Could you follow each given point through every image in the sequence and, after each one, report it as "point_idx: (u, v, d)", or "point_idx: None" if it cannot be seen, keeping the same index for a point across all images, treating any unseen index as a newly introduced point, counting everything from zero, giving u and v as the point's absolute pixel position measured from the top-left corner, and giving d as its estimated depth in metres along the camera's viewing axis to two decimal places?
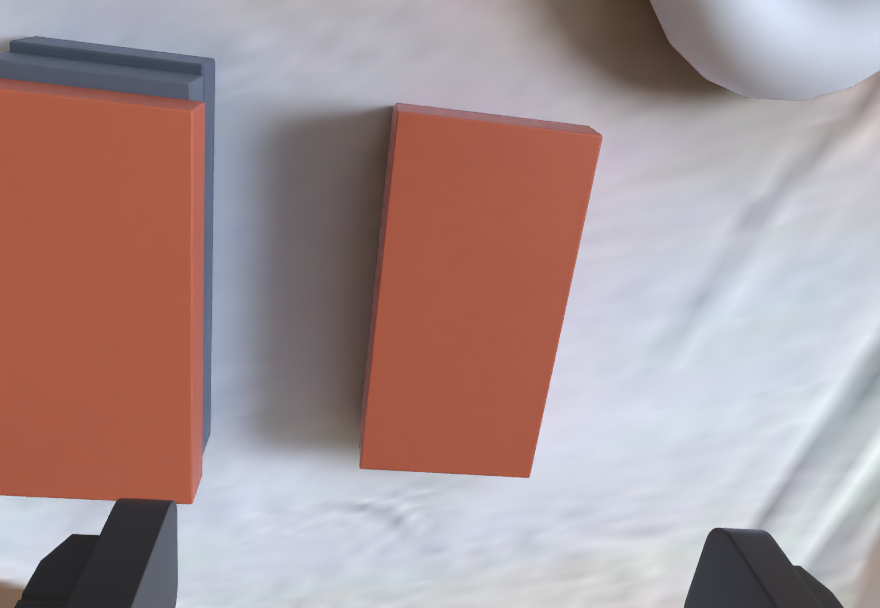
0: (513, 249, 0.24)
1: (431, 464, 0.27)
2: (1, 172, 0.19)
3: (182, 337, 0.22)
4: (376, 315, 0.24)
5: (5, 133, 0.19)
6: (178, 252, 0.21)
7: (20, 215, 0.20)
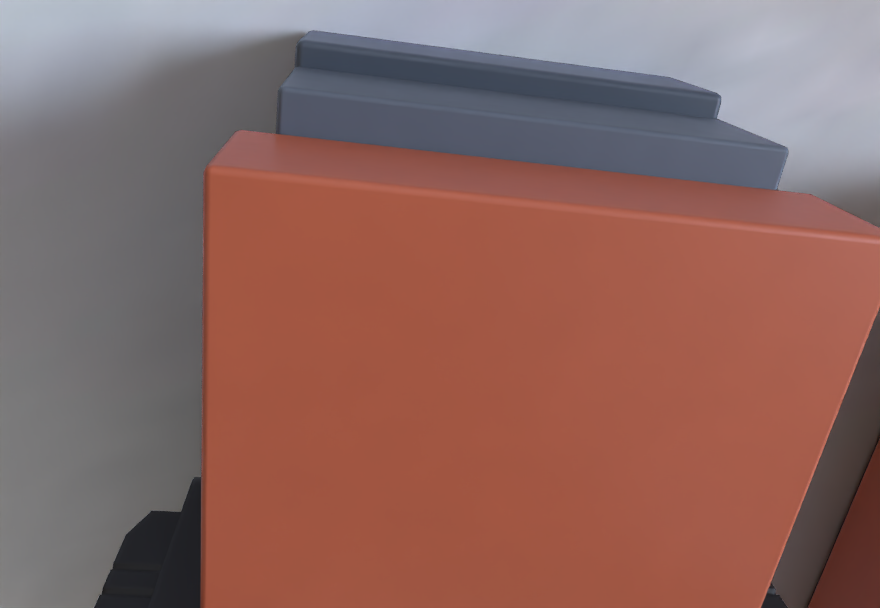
0: None
1: None
2: (355, 408, 0.07)
3: None
4: None
5: (388, 308, 0.07)
6: (744, 572, 0.08)
7: (382, 508, 0.07)
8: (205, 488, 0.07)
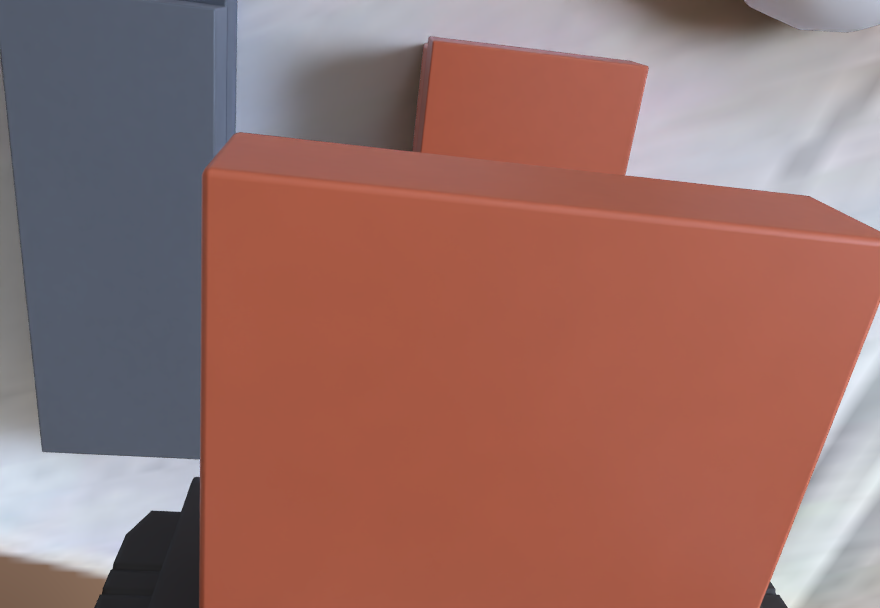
0: None
1: None
2: (354, 410, 0.07)
3: None
4: None
5: (387, 310, 0.07)
6: (742, 574, 0.08)
7: (381, 509, 0.07)
8: (204, 490, 0.07)
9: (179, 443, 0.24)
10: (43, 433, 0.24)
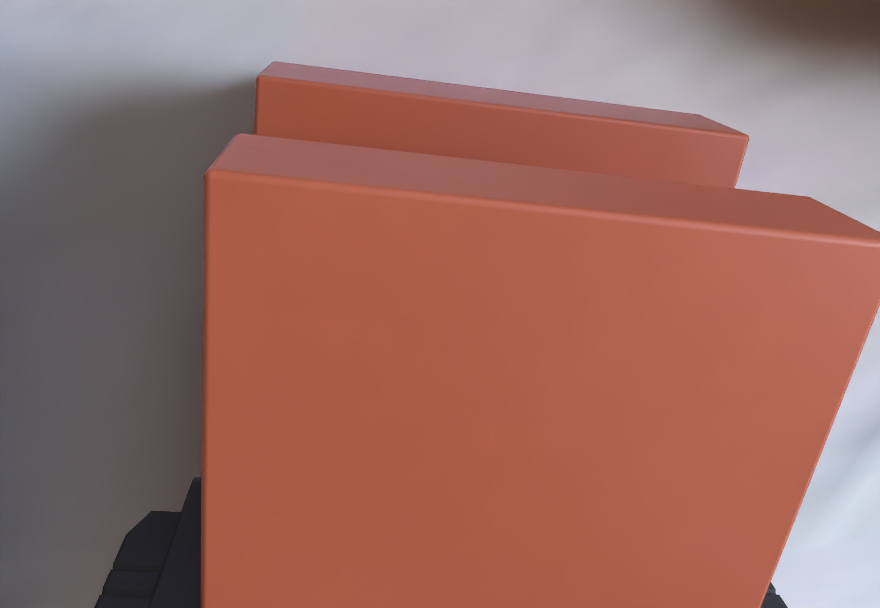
0: None
1: None
2: (356, 411, 0.07)
3: None
4: None
5: (388, 311, 0.07)
6: (743, 575, 0.08)
7: (382, 510, 0.07)
8: (205, 491, 0.07)
9: None
10: None
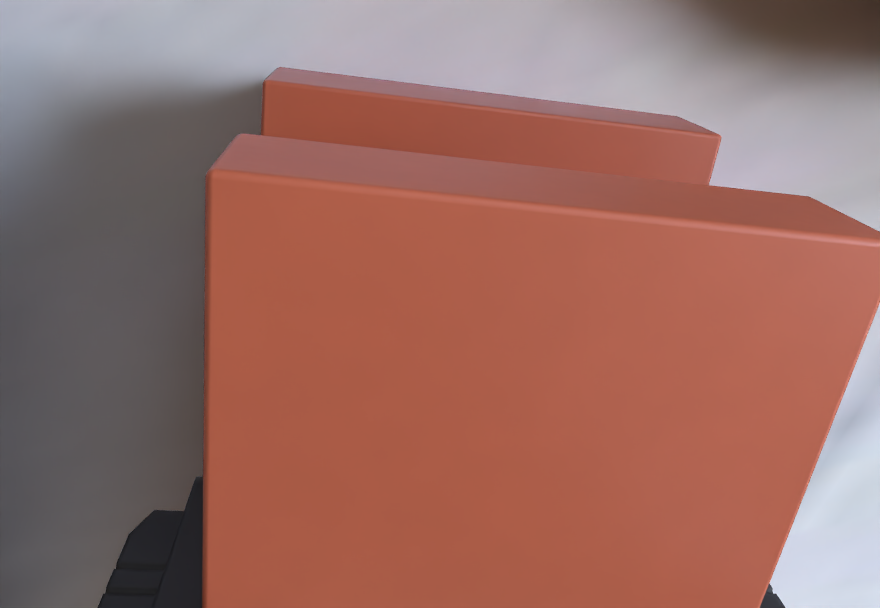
0: None
1: None
2: (357, 410, 0.07)
3: None
4: None
5: (390, 310, 0.07)
6: (743, 573, 0.08)
7: (383, 509, 0.07)
8: (207, 489, 0.07)
9: None
10: None
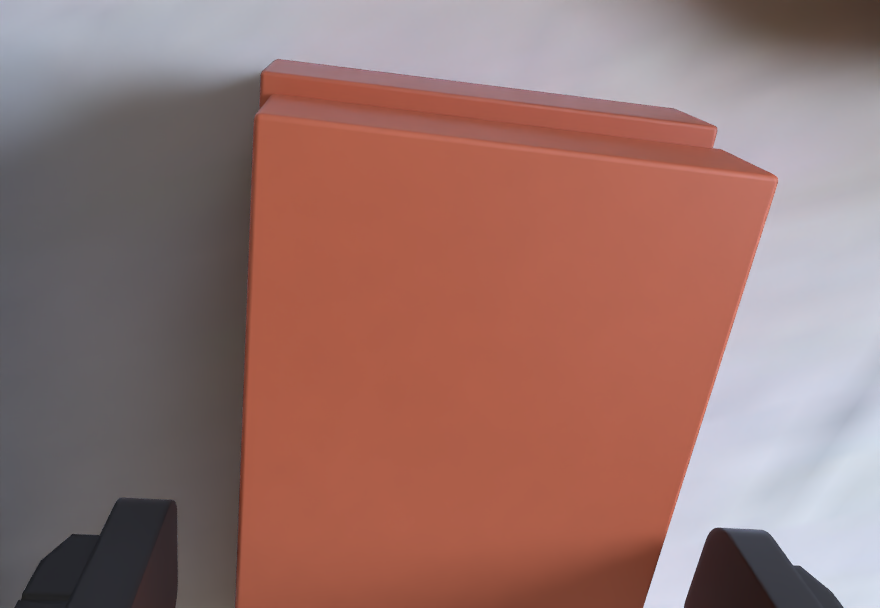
0: None
1: None
2: (364, 304, 0.09)
3: (631, 591, 0.11)
4: None
5: (388, 224, 0.09)
6: (669, 448, 0.10)
7: (383, 386, 0.10)
8: (248, 367, 0.09)
9: None
10: None
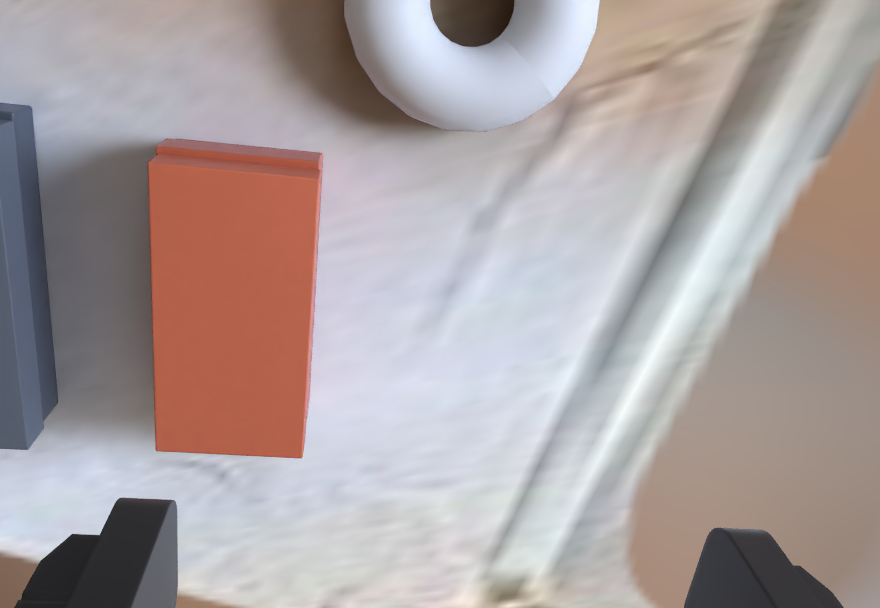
0: None
1: None
2: (187, 221, 0.28)
3: (302, 334, 0.30)
4: None
5: (192, 195, 0.28)
6: (303, 275, 0.29)
7: (197, 250, 0.29)
8: (150, 243, 0.28)
9: None
10: None
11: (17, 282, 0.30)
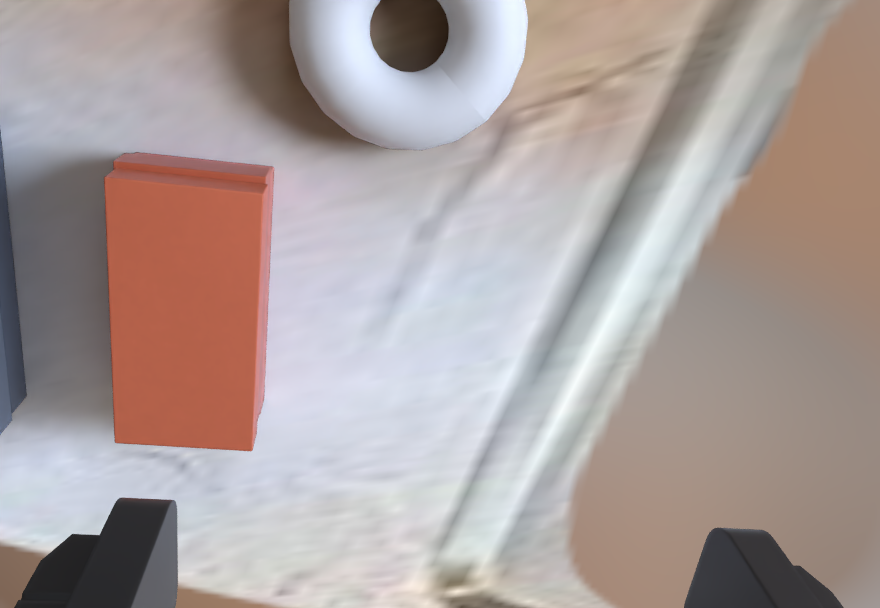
0: None
1: None
2: (141, 232, 0.30)
3: (250, 337, 0.33)
4: None
5: (146, 207, 0.30)
6: (250, 282, 0.32)
7: (151, 258, 0.31)
8: (107, 251, 0.31)
9: None
10: None
11: None
